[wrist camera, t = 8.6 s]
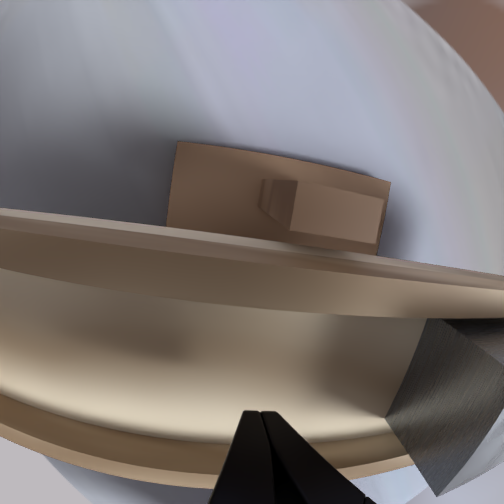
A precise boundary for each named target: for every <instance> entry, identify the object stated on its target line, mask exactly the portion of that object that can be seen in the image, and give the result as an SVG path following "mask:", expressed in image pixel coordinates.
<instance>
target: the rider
mask: <svg viewBox="0 0 504 504" xmlns="http://www.w3.org/2000/svg"><path fill="white" fill-rule="evenodd" d="M384 419H385V420H386V422H387V423H388V425H389V426H390V427H391V429H392V430H393V432H394V433H395V435H396V436H397V438H398V439H399V441H400V442H401V444H402V445H403V447H404V448H405V450H406V451H407V453H408V454H409V456H410V457H411V459H412V460H413V462H414V463H415V465H416V466H417V468H418V469H419V471H420V473H421V474H422V476H423V477H424V479H425V480H426V482H427V483H428V485H429V486H430V488H431V489H432V491H433V492H434V494H435V495H436V497H438V496H440V495H443V494H445V493H447V492H449V491H451V490H453V489H455V488H457V487H459V486H461V485H463V484H465V483H467V482H469V481H471V480H473V479H475V478H476V477H478V476H480V475H482V474H484V473H485V472H487V471H489V470H491V469H492V468H494V467H496V466H497V465H499V464H500V463H502V462H504V318H427V320H426V323H425V326H424V329H423V332H422V334H421V337H420V340H419V342H418V345H417V348H416V350H415V353H414V355H413V358H412V360H411V362H410V365H409V367H408V370H407V372H406V374H405V376H404V379H403V381H402V383H401V385H400V388H399V390H398V392H397V394H396V396H395V398H394V400H393V402H392V404H391V406H390V408H389V410H388V412H387V414H386V416H385V418H384Z"/></svg>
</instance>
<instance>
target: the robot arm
mask: <svg viewBox="0 0 504 504" xmlns="http://www.w3.org/2000/svg"><path fill="white" fill-rule="evenodd" d="M208 504H376V503H375V502H374V501H372V500H371V499H370V498H369V497H365V494H364V493H363V492H362V491H360V490H359V489H358V488H357V487H356V486H355V485H353V484H352V483H351V482H350V481H349V480H348V479H347V478H345V477H344V476H343V475H342V474H341V473H340V472H339V471H338V470H337V469H335V468H334V467H333V466H332V465H331V464H330V463H329V462H328V461H327V460H326V459H325V458H324V457H323V456H321V455H320V454H319V453H318V452H317V451H316V450H315V449H314V448H313V447H312V446H311V445H310V444H309V443H308V442H307V441H306V440H305V439H304V438H303V437H302V436H301V435H300V434H299V433H298V432H297V431H296V430H295V429H294V428H293V427H292V426H291V425H290V424H289V423H288V422H287V421H286V420H285V419H284V418H283V417H282V416H281V415H280V414H279V413H278V412H276V411H261V412H259V411H257V410H244V411H243V412H242V415H241V417H240V420H239V423H238V426H237V429H236V431H235V434H234V437H233V439H232V442H231V445H230V447H229V450H228V453H227V455H226V458H225V461H224V463H223V466H222V469H221V471H220V474H219V476H218V479H217V481H216V484H215V486H214V489H213V492H212V494H211V497H210V499H209V501H208Z"/></svg>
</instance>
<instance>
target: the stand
mask: <svg viewBox="0 0 504 504" xmlns="http://www.w3.org/2000/svg"><path fill="white" fill-rule="evenodd" d="M390 185H391V182H388V181H385V180H381V179H377V178H374V177H370V176H366V175H362V174H358V173H354V172H350V171H346V170H342V169H338V168H333V167H329V166H325V165H320V164H316V163H311V162H306V161H301V160H296V159H291V158H286V157H281V156H276V155H270V154H265V153H259V152H253V151H247V150H240V149H234V148H227V147H220V146H213V145H205V144H197V143H189V142H180V141H178V142H177V148H176V154H175V161H174V167H173V174H172V181H171V188H170V196H169V204H168V212H167V221H166V227H171V228H179V229H186V230H194V231H202V232H210V233H217V234H225V235H232V236H240V237H247V238H255V239H262V240H269V241H277V242H284V243H291V244H298V245H305V246H312V247H319V248H326V249H333V250H340V251H347V252H354V253H361V254H368V255H374V256H376V255H377V251H378V246H379V242H380V237H381V233H382V228H383V223H384V218H385V213H386V207H387V202H388V196H389V191H390Z"/></svg>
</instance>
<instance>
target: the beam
mask: <svg viewBox="0 0 504 504" xmlns="http://www.w3.org/2000/svg"><path fill="white" fill-rule="evenodd" d="M427 318H504V276H501V275H495V274H489V273H483V272H477V271H471V270H465V269H458V268H452V267H446V266H440V265H433V264H427V263H420V262H414V261H407V260H401V259H394V258H388V257H381V256H374V255H368V254H361V253H354V252H347V251H340V250H333V249H326V248H319V247H312V246H305V245H298V244H291V243H284V242H277V241H269V240H262V239H255V238H247V237H240V236H232V235H225V234H217V233H210V232H202V231H194V230H186V229H179V228H171V227H163V226H155V225H147V224H139V223H130V222H122V221H114V220H105V219H97V218H88V217H80V216H71V215H62V214H53V213H44V212H35V211H26V210H16V209H7V208H0V436H1V437H3V438H5V439H7V440H9V441H12V442H14V443H16V444H18V445H21V446H23V447H26V448H28V449H31V450H33V451H36V452H38V453H41V454H43V455H46V456H49V457H52V458H55V459H57V460H60V461H63V462H67V463H70V464H73V465H76V466H80V467H83V468H87V469H90V470H94V471H98V472H102V473H106V474H110V475H115V476H119V477H124V478H129V479H134V480H140V481H145V482H152V483H158V484H165V485H174V486H183V487H194V488H208V489H214V486H215V484H216V481H217V479H218V476H219V474H220V471H221V469H222V466H223V463H224V461H225V458H226V455H227V453H228V450H229V447H230V445H231V442H232V439H233V437H234V434H235V431H236V429H237V426H238V423H239V420H240V417H241V415H242V412H243V411H244V410H257V411H259V412H261V411H276V412H278V413H279V414H280V415H281V416H282V417H283V418H284V419H285V420H286V421H287V422H288V423H289V424H290V425H291V426H292V427H293V428H294V429H295V430H296V431H297V432H298V433H299V434H300V435H301V436H302V437H303V438H304V439H305V440H306V441H307V442H308V443H309V444H310V445H311V446H312V447H313V448H314V449H315V450H316V451H317V452H318V453H319V454H320V455H321V456H323V457H324V458H325V459H326V460H327V461H328V462H329V463H330V464H331V465H332V466H333V467H334V468H335V469H337V470H338V471H339V472H340V473H341V474H342V475H343V476H344V477H345V478H347V479H348V480H352V479H357V478H362V477H367V476H371V475H376V474H380V473H384V472H388V471H392V470H396V469H400V468H403V467H407V466H410V465H413V464H415V463H414V462H413V460H412V459H411V457H410V456H409V454H408V453H407V451H406V450H405V448H404V447H403V445H402V444H401V442H400V441H399V439H398V438H397V436H396V435H395V433H394V432H393V430H392V429H391V427H390V426H389V425H388V423H387V422H386V420H385V419H384V418H385V416H386V414H387V412H388V410H389V408H390V406H391V404H392V402H393V400H394V398H395V396H396V394H397V392H398V390H399V388H400V385H401V383H402V381H403V379H404V376H405V374H406V372H407V370H408V367H409V365H410V362H411V360H412V358H413V355H414V353H415V350H416V348H417V345H418V342H419V340H420V337H421V334H422V332H423V329H424V326H425V323H426V320H427Z"/></svg>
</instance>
